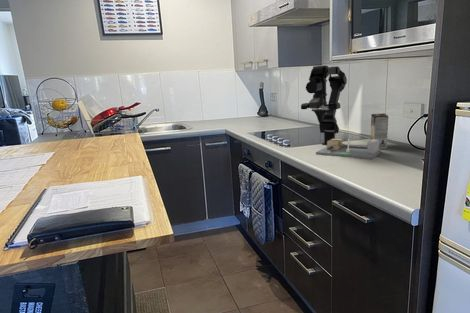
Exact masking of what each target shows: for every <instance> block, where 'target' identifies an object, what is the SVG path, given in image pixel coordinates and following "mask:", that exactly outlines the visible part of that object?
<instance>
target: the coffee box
mask: <svg viewBox="0 0 470 313" xmlns="http://www.w3.org/2000/svg"><path fill="white" fill-rule="evenodd" d="M370 121H371V123H370V124H371V125H370V140H372V139H376V140H379V150H382V149H388V134H389V133H388V130H389V128H388V126H389V115H388V114H386V113H384V112H383V113H372V114H371V119H370Z"/></svg>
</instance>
